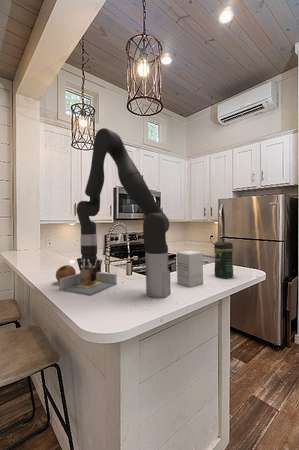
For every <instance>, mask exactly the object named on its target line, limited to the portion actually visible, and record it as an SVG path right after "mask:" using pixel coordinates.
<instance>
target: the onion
mask: <svg viewBox="0 0 299 450" xmlns="http://www.w3.org/2000/svg"><path fill="white" fill-rule="evenodd" d="M75 274H77V271H76V269H75V268H74V267H73V266H72V265H69V264H66V265H63V266H62V265H61V266H60V267H59V268H58V269H57V270H56V272H55V279H56V280H57V283H60V279H61V278H64V277H68V276H71V275H75Z"/></svg>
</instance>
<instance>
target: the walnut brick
mask: <svg viewBox="0 0 299 450" xmlns="http://www.w3.org/2000/svg"><path fill="white" fill-rule="evenodd" d="M93 270H94V268H93ZM79 273H80V283H83V284H89V283H91V282H94V281H91V274H92V273H91V269H90V268H86V269H82V270H79ZM97 280H99V272H96V280H95V281H97Z"/></svg>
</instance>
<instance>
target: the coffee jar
mask: <svg viewBox="0 0 299 450" xmlns="http://www.w3.org/2000/svg"><path fill="white" fill-rule="evenodd" d="M213 250H214V276H216V277H218V278H221V279H231V278H234V266H233V251H234V245H233V243H232V242H230V241H224V240H222V241H221V240H219V241H215V242H214V246H213Z"/></svg>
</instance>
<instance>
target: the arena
mask: <svg viewBox="0 0 299 450" xmlns="http://www.w3.org/2000/svg"><path fill="white" fill-rule="evenodd" d="M117 275H118V274H117V273H111V272H102V271H101V272H99V280H97V281H94V282H91V283H89V284H83V283H80V272H79V273H76V274H75V275H71V276H68V277H64V278H61V279H60V282H59V291H63V292H68V293H74V294H79V295H85V296H93V295H95V294H98V293H100V292H102V291H105V290H107V289H109V288H112V287H114V286H116V285H117V284H118V282H117V281H118V279H117V278H118V277H117Z"/></svg>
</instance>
